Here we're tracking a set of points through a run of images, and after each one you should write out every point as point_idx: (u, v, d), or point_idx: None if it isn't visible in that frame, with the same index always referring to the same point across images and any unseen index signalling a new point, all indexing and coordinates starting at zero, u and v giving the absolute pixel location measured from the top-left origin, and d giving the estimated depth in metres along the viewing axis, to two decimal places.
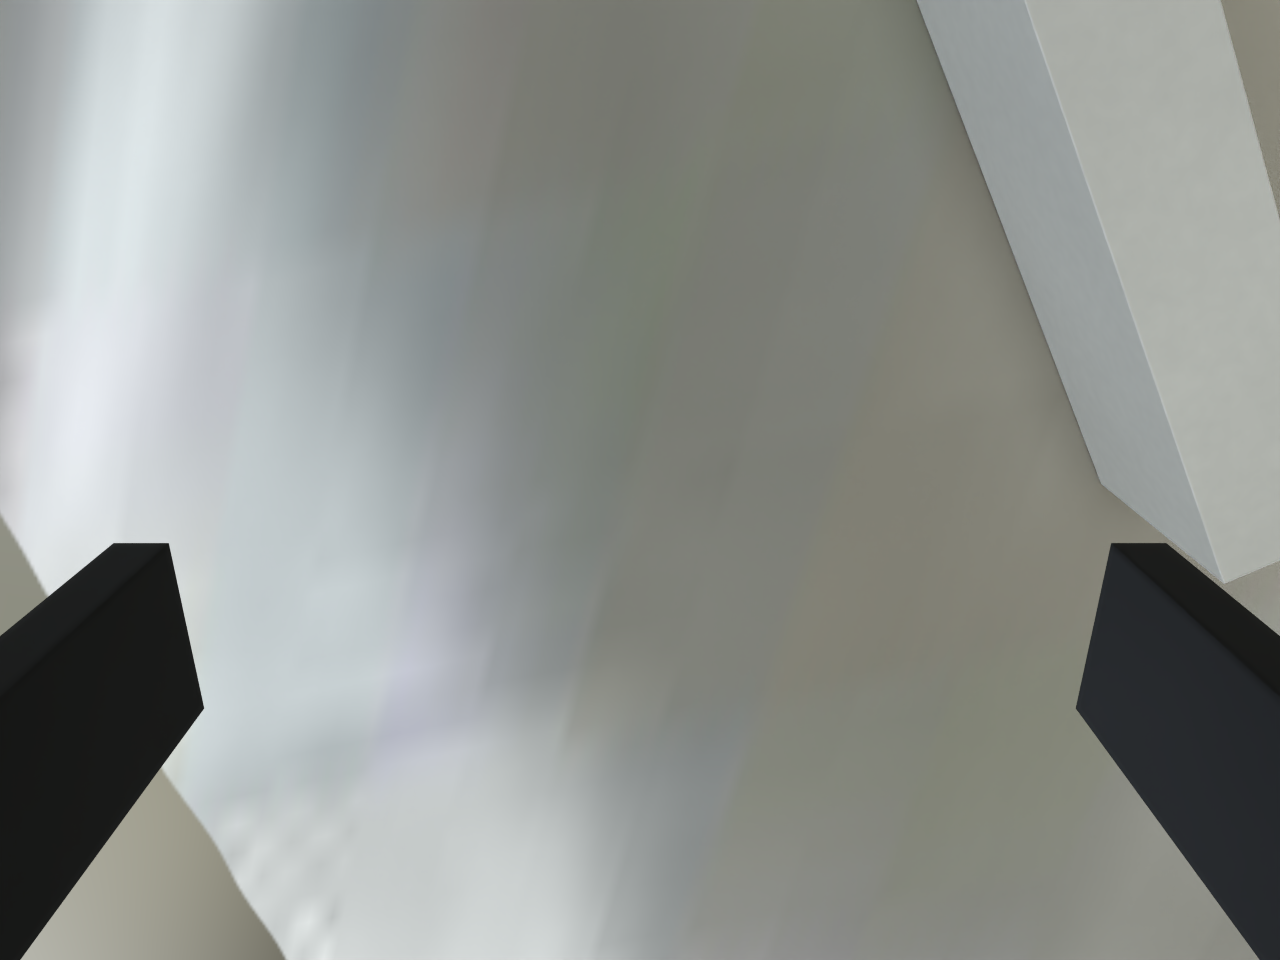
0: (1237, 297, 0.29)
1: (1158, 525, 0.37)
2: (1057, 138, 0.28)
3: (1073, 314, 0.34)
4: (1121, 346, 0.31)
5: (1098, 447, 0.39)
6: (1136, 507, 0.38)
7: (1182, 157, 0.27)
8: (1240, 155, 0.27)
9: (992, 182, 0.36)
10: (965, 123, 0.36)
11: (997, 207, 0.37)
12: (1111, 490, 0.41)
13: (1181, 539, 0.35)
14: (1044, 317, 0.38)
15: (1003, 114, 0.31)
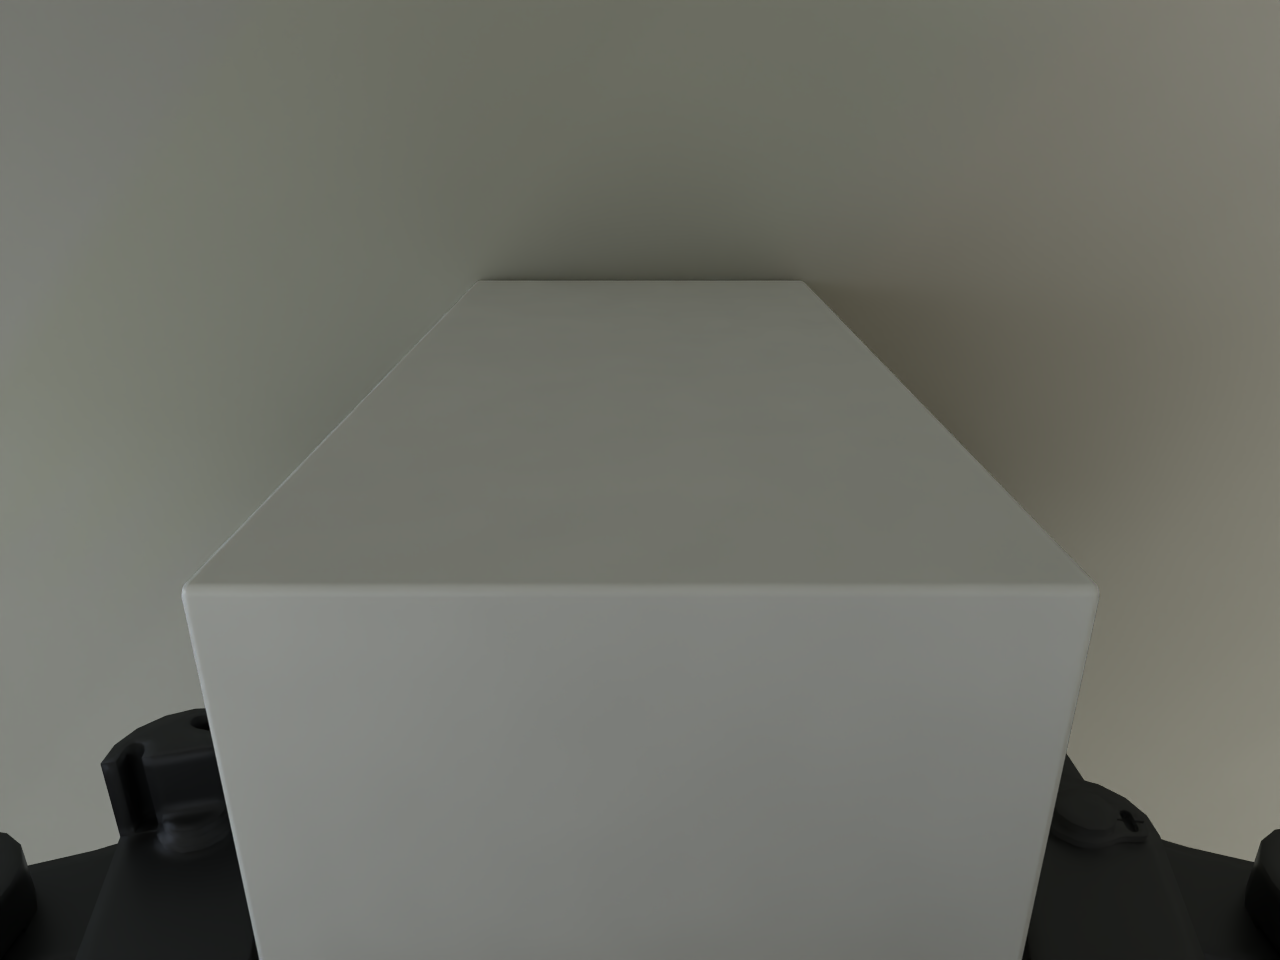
0: None
1: None
2: None
3: None
4: None
5: None
6: None
7: None
8: None
9: None
10: None
11: None
12: None
13: None
14: None
15: None
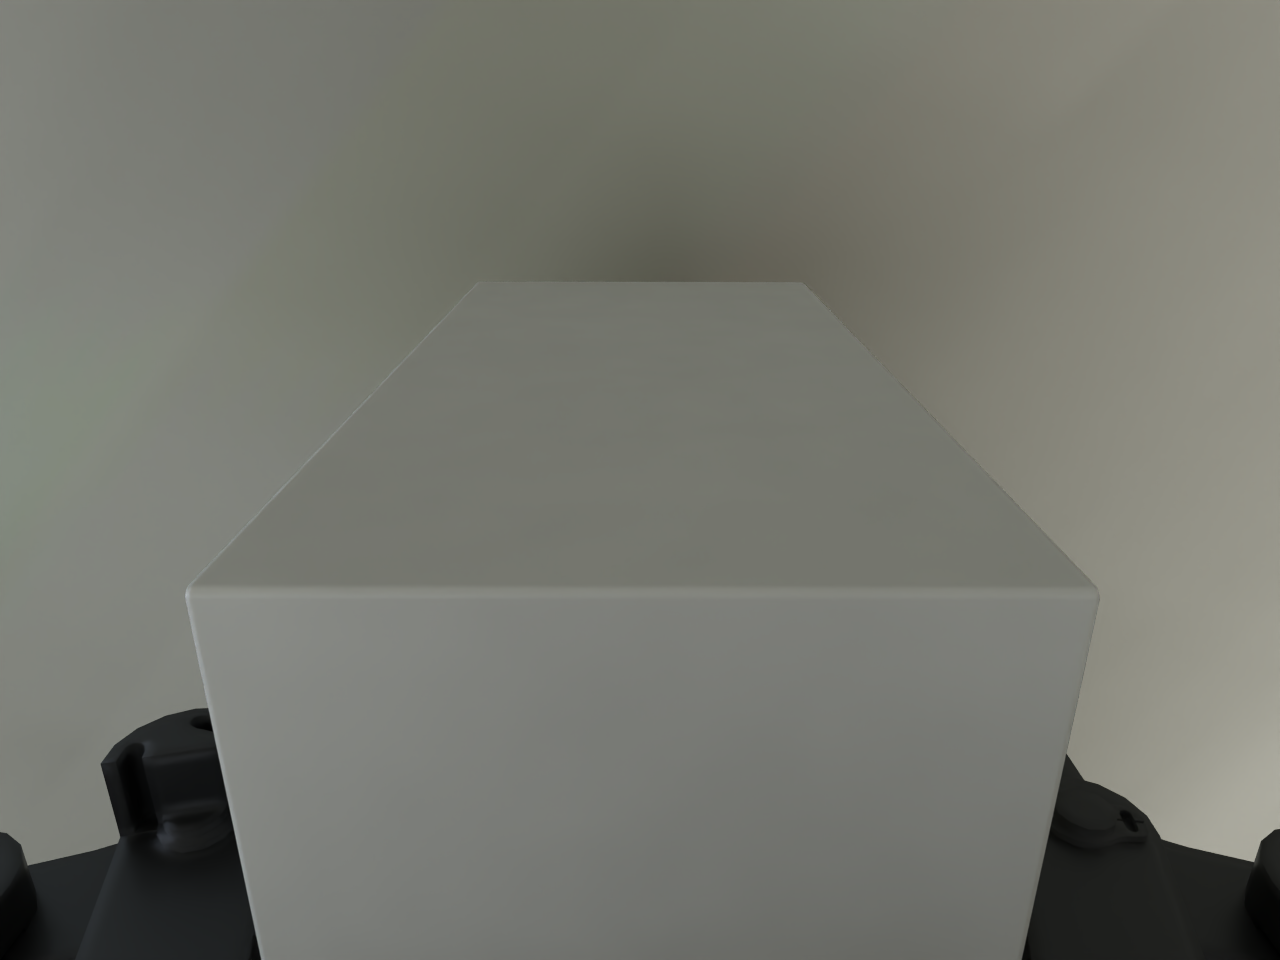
0: None
1: None
2: None
3: None
4: None
5: None
6: None
7: None
8: None
9: None
10: None
11: None
12: None
13: None
14: None
15: None
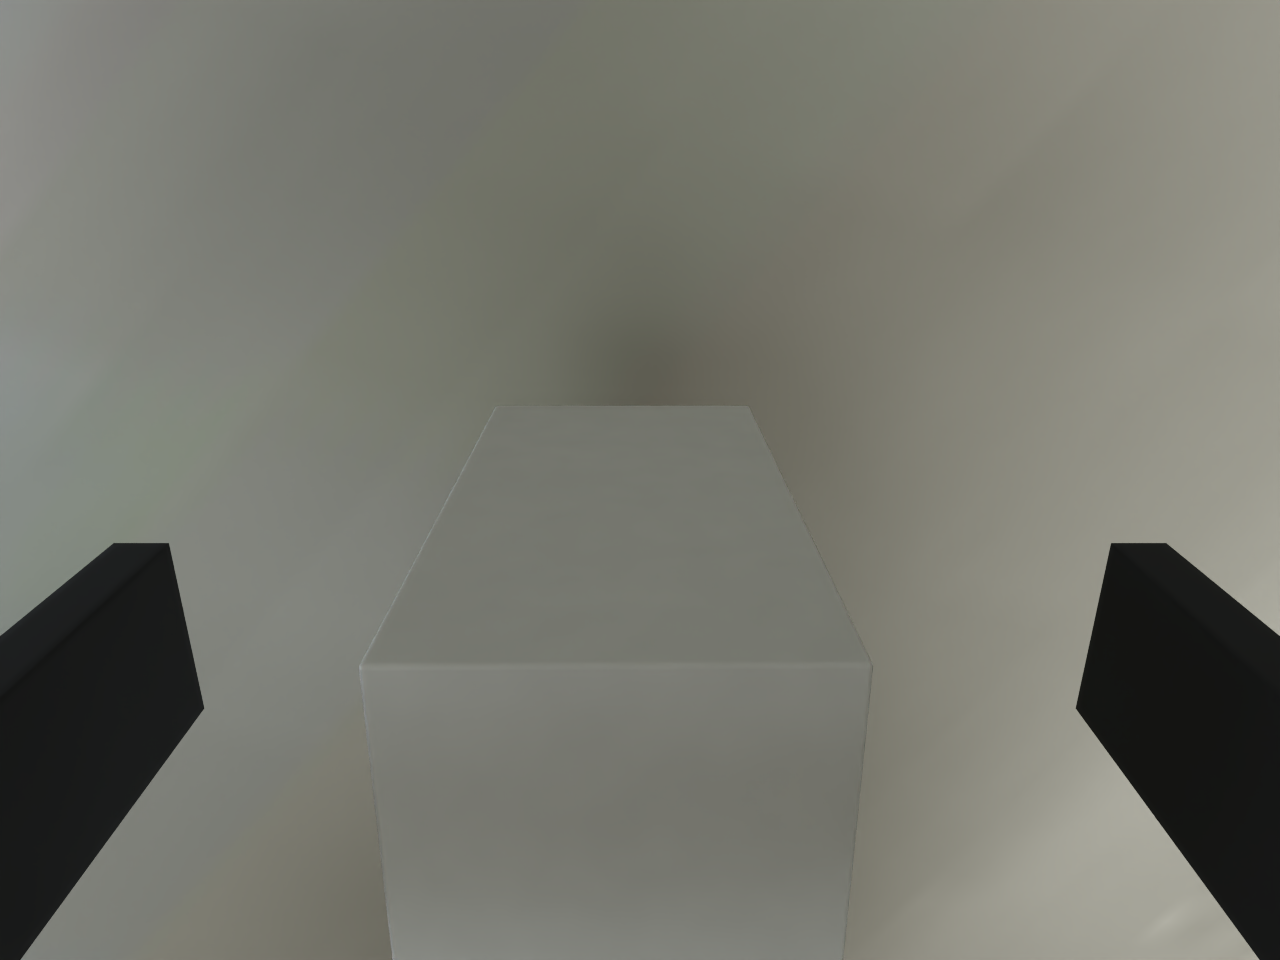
0: None
1: None
2: None
3: None
4: None
5: None
6: None
7: None
8: None
9: None
10: None
11: None
12: None
13: None
14: None
15: None
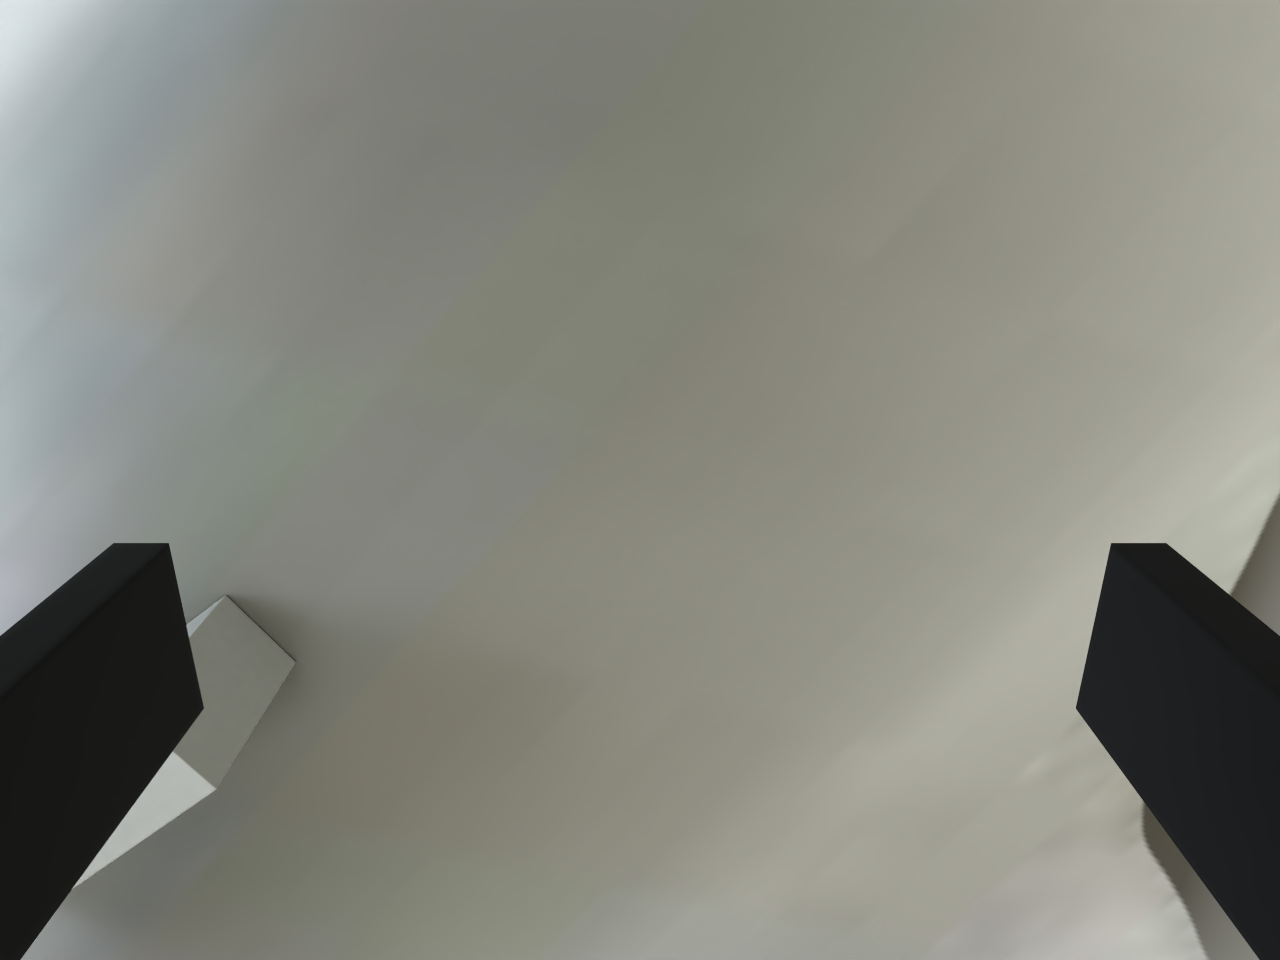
0: None
1: None
2: None
3: None
4: None
5: None
6: None
7: None
8: None
9: None
10: None
11: None
12: None
13: None
14: None
15: None
